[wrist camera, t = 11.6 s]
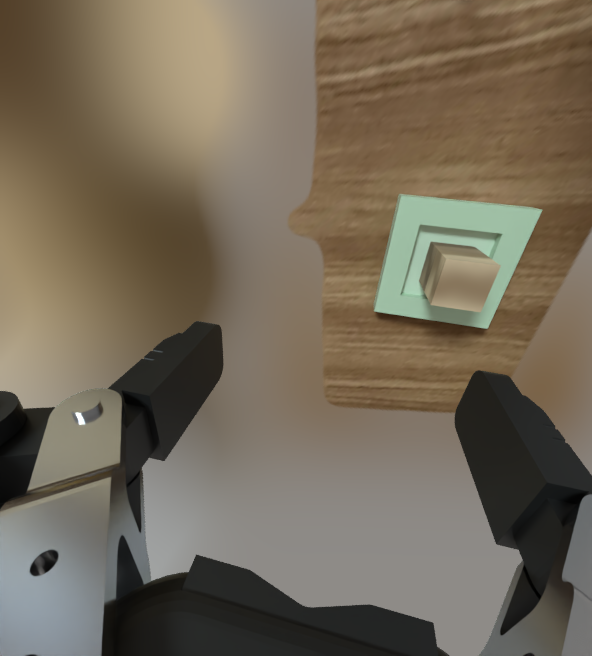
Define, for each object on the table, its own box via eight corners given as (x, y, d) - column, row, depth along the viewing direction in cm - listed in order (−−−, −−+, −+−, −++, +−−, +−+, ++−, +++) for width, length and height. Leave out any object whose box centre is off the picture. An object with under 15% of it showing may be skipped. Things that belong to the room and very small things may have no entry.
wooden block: (430, 241, 32) (446, 258, 26) (474, 246, 31) (501, 265, 25) (418, 280, 34) (430, 305, 28) (459, 286, 34) (480, 312, 27)
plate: (398, 193, 31) (401, 195, 30) (530, 207, 30) (542, 209, 28) (373, 304, 38) (374, 311, 36) (480, 320, 36) (487, 328, 34)
